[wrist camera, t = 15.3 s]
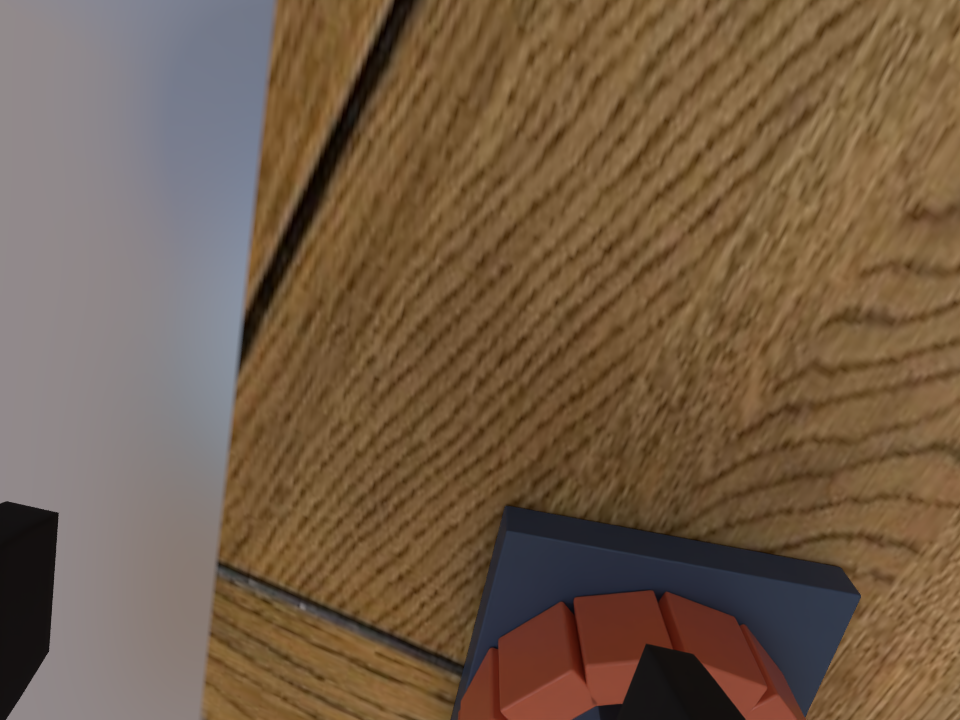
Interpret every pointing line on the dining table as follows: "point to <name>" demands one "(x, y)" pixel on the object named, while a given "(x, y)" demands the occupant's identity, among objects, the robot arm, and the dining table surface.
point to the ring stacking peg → (662, 590)
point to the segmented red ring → (619, 659)
